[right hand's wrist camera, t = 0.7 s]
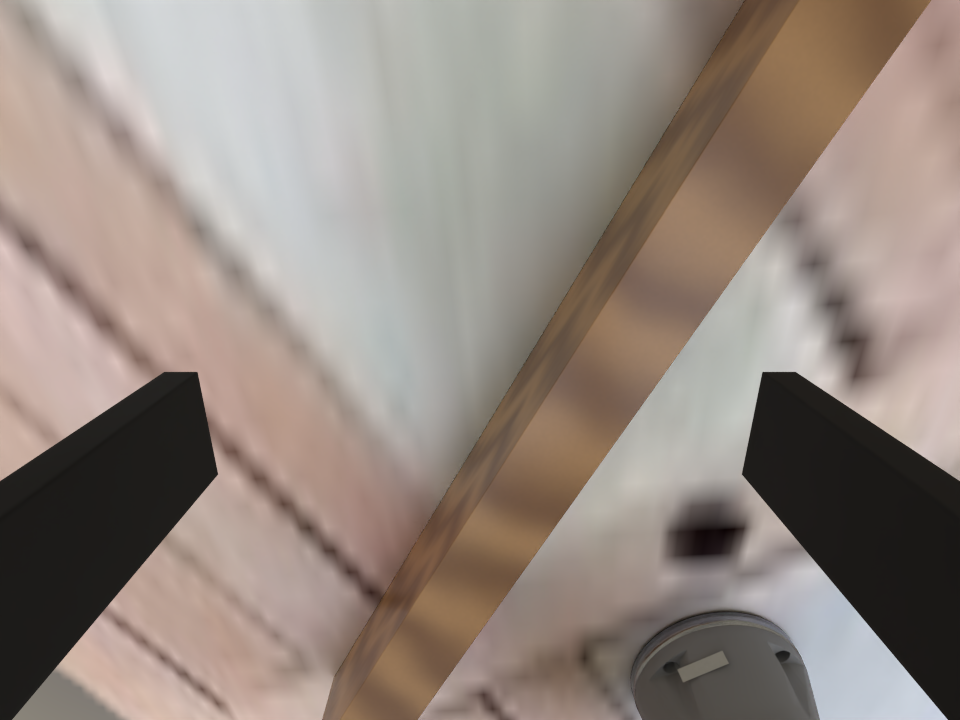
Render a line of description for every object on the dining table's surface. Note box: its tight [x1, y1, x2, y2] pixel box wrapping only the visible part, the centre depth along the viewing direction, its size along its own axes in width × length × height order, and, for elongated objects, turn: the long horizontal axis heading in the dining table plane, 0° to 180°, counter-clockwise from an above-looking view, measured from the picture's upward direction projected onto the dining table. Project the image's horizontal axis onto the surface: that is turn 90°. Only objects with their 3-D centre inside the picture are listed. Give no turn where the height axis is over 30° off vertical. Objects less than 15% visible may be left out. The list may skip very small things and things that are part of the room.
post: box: [322, 0, 931, 720], centre depth 34 cm, size 77×5×8 cm, turn 152°
